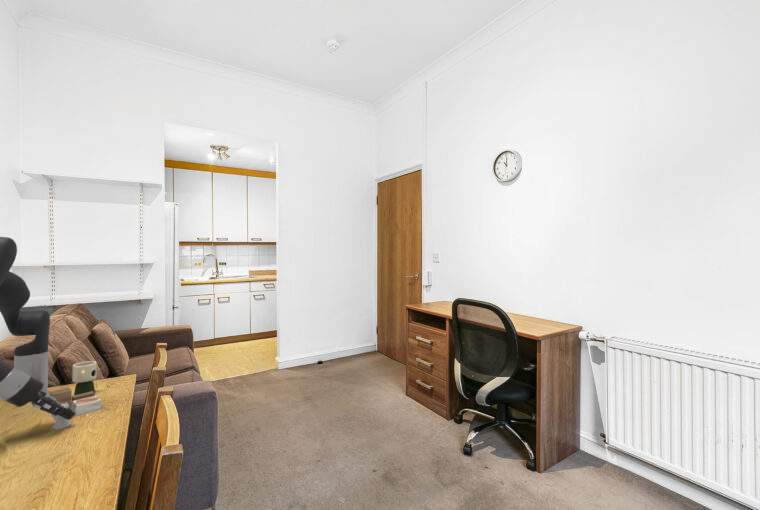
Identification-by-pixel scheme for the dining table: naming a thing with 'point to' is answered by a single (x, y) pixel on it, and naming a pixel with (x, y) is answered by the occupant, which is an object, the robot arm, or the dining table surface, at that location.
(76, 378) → the character mug
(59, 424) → the rook chess piece
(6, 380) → the robot arm
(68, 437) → the dining table surface
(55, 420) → the baseplate
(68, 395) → the walnut castle blocks
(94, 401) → the white square block
